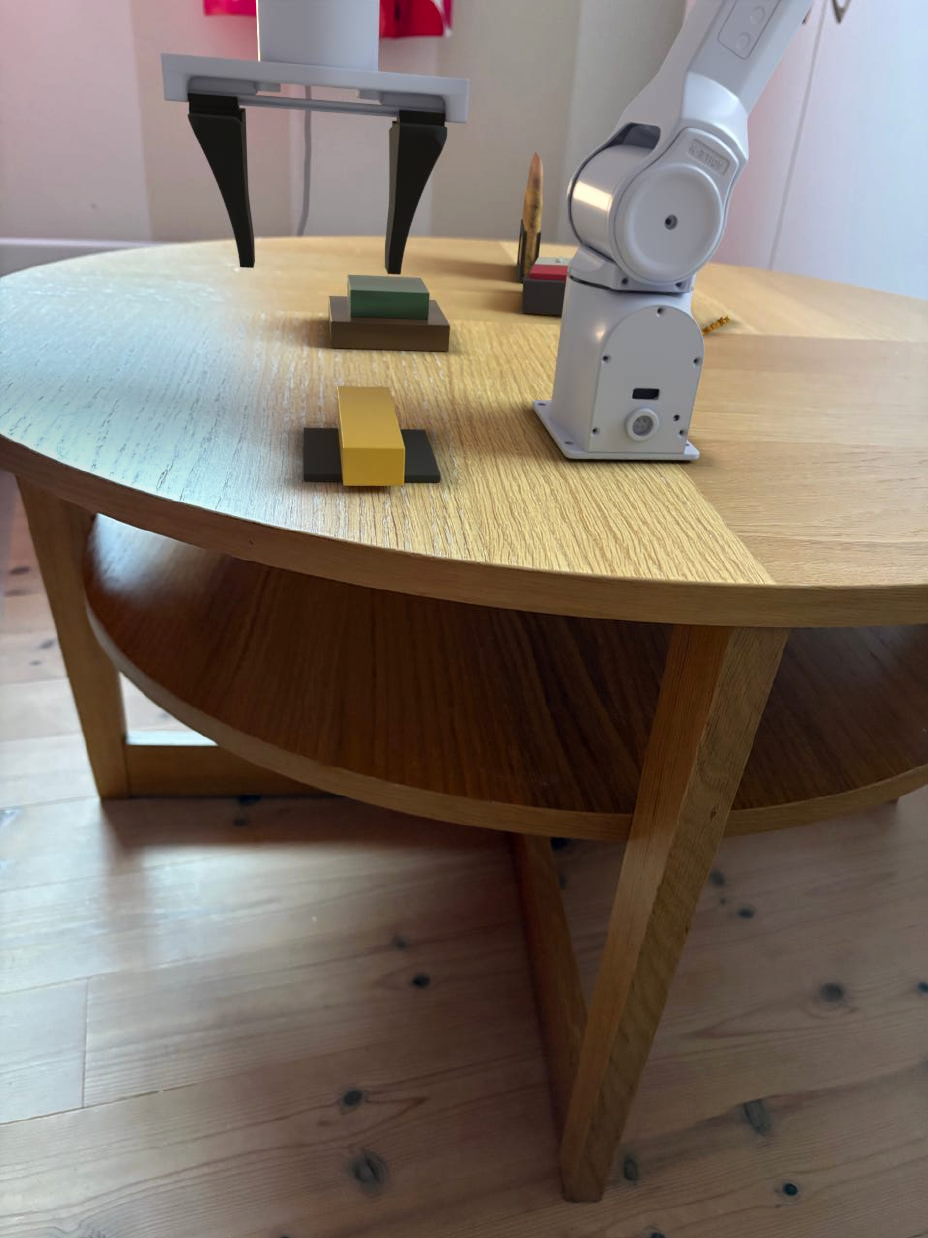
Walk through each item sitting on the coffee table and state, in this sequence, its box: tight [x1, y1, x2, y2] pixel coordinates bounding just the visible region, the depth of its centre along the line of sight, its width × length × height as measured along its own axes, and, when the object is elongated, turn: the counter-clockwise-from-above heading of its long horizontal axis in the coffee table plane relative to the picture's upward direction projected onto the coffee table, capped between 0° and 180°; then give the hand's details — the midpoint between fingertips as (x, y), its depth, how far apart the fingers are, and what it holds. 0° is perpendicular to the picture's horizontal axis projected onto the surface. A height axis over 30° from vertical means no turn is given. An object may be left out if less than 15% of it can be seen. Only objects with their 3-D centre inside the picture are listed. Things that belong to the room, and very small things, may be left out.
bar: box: [336, 385, 405, 487], centre depth 48 cm, size 10×3×2 cm, turn 9°
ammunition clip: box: [516, 151, 544, 284], centre depth 97 cm, size 11×2×12 cm, turn 178°
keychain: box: [700, 315, 731, 336], centre depth 82 cm, size 8×1×1 cm, turn 148°
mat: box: [302, 427, 442, 483], centre depth 48 cm, size 7×7×1 cm
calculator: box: [521, 256, 573, 316], centre depth 85 cm, size 11×4×15 cm
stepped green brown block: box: [327, 274, 451, 352], centre depth 71 cm, size 9×9×4 cm
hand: (321, 267), depth 48 cm, fingers open, 7 cm apart
